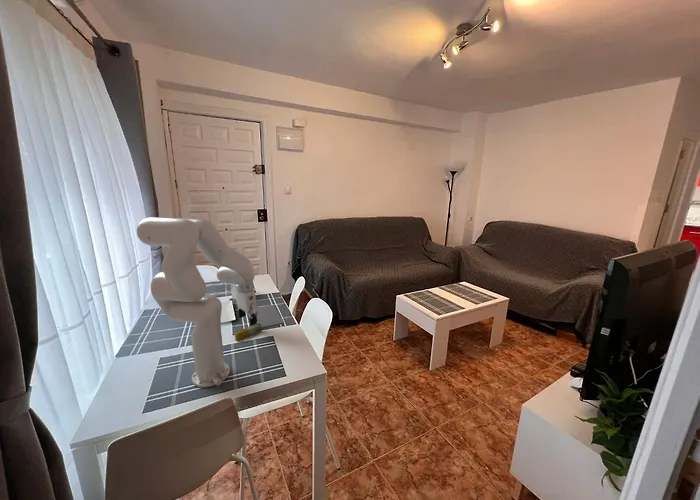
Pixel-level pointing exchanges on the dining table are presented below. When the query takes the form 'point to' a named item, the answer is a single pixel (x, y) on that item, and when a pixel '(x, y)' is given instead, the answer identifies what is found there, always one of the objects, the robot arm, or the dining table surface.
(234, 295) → the light bulb box
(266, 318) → the placemat
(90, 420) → the dining table surface
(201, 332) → the robot arm
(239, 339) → the medication box
